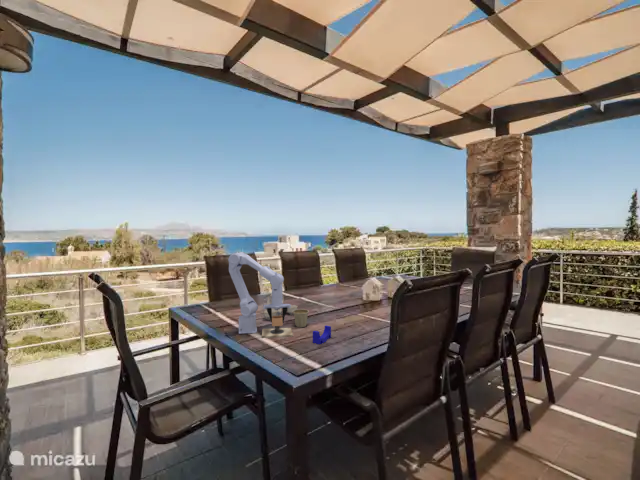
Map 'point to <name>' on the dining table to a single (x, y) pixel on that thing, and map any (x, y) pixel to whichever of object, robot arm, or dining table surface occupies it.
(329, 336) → the cable clip
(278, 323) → the collar
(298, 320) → the flower pot
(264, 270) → the robot arm
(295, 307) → the chinaware
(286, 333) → the post plate
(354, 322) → the dining table surface
